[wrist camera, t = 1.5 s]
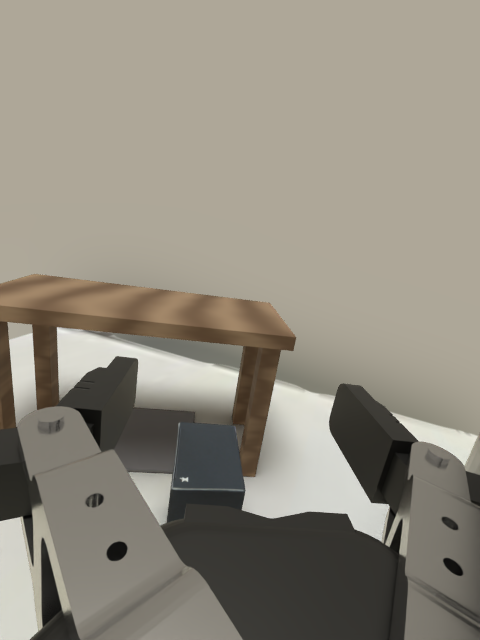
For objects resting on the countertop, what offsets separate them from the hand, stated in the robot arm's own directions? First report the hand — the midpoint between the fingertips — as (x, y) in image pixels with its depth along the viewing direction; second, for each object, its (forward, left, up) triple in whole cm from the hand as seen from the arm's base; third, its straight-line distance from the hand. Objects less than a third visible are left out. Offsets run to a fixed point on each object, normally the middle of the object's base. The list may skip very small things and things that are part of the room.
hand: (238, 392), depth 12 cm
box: (0, -11, -23) cm, 25 cm away
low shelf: (+8, -25, -23) cm, 34 cm away
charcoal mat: (+8, -25, -23) cm, 34 cm away
